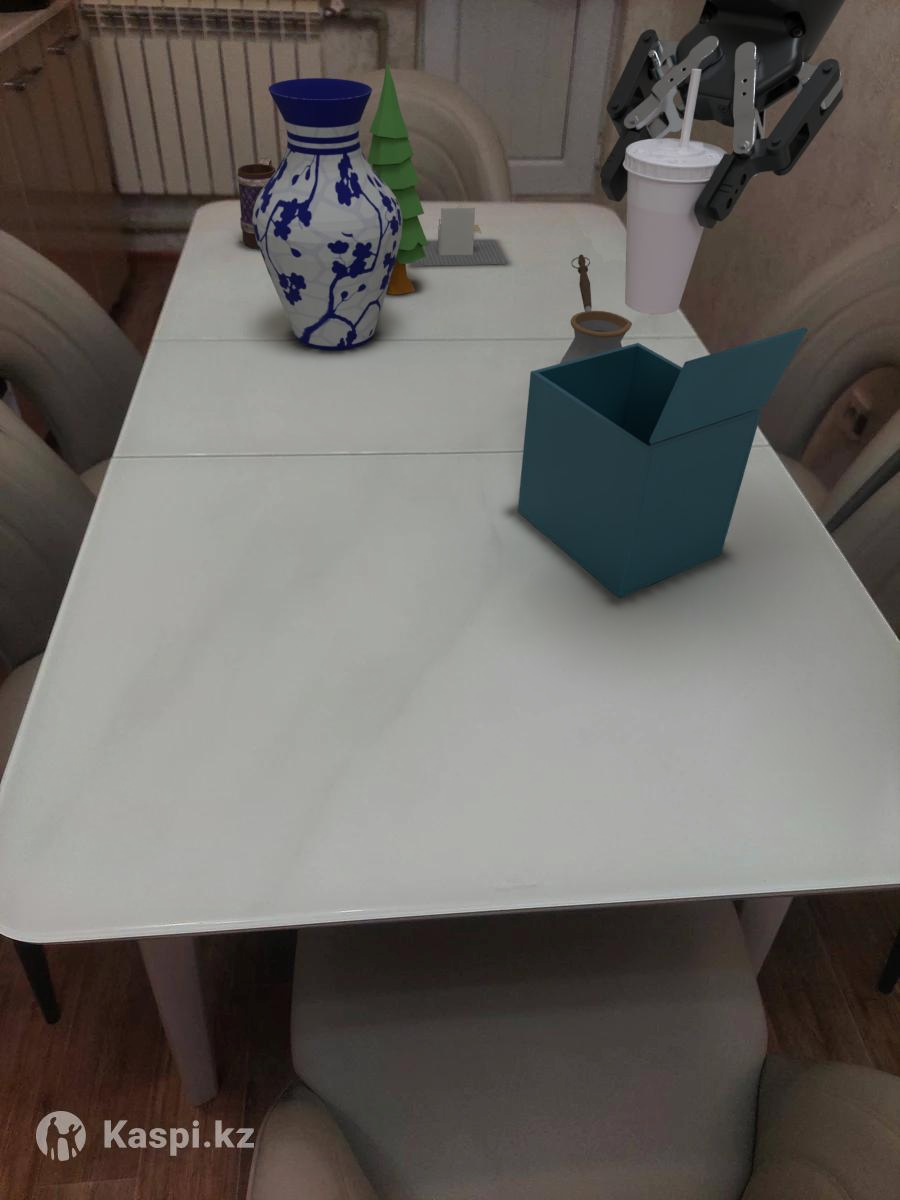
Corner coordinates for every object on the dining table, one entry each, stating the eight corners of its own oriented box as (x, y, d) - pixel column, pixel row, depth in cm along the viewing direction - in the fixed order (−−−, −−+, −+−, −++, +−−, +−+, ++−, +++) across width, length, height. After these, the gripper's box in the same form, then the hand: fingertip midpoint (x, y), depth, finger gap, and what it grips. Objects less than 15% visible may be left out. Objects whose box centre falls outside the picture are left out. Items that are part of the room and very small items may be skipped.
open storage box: (721, 555, 86) (761, 411, 76) (618, 598, 81) (648, 450, 71) (614, 477, 97) (638, 342, 87) (517, 511, 91) (530, 371, 81)
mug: (277, 251, 147) (270, 173, 140) (236, 247, 148) (227, 170, 140) (296, 231, 155) (290, 157, 147) (257, 228, 156) (249, 154, 148)
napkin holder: (436, 248, 151) (437, 202, 146) (476, 247, 152) (479, 201, 147) (439, 255, 148) (440, 208, 143) (480, 254, 149) (482, 207, 144)
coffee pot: (643, 452, 101) (667, 324, 91) (542, 451, 100) (556, 323, 91) (610, 368, 117) (628, 253, 108) (523, 367, 117) (533, 251, 107)
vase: (268, 368, 115) (239, 107, 95) (262, 310, 129) (236, 72, 109) (413, 359, 118) (414, 105, 98) (392, 303, 132) (389, 71, 112)
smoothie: (718, 307, 61) (769, 73, 52) (655, 331, 58) (697, 87, 49) (648, 278, 65) (684, 56, 55) (585, 299, 62) (612, 67, 52)
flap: (762, 403, 76) (764, 406, 76) (648, 441, 71) (651, 444, 71) (805, 326, 70) (808, 329, 70) (684, 361, 65) (687, 364, 64)
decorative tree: (380, 273, 141) (374, 54, 122) (436, 280, 139) (440, 59, 120) (359, 295, 134) (350, 66, 115) (418, 303, 132) (419, 72, 113)
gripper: (680, -96, 55) (542, 145, 56) (908, -80, 48) (743, 198, 49) (708, -2, 62) (584, 214, 63) (913, 26, 54) (767, 269, 55)
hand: (654, 206), depth 56 cm, fingers closed on smoothie, 6 cm apart
